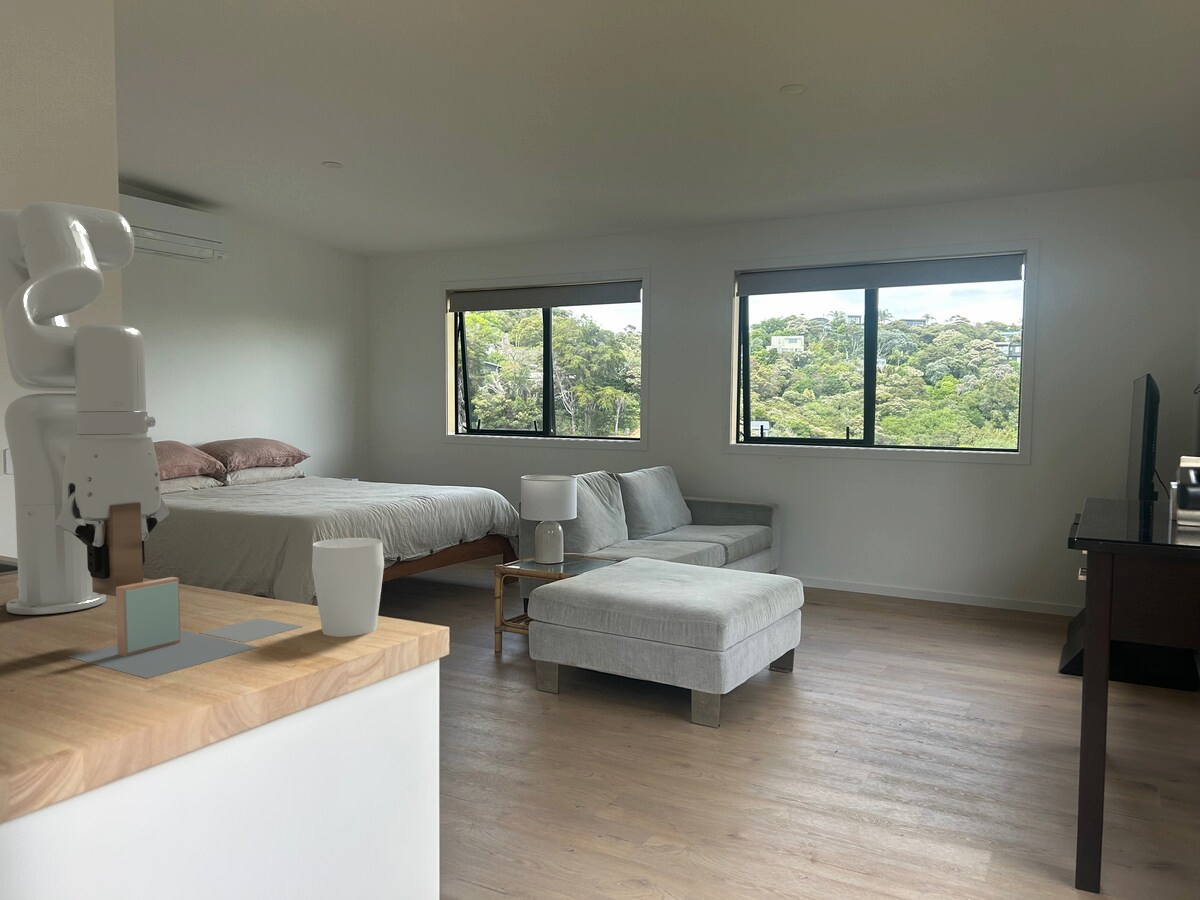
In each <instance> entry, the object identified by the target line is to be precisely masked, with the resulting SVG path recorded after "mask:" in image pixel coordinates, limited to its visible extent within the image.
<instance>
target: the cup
mask: <svg viewBox="0 0 1200 900" xmlns="http://www.w3.org/2000/svg"><path fill="white" fill-rule="evenodd" d="M383 545H384V544H383V540H382V539H380V538H374V537H339V538H338V537H337V538H330V539H324V540H319V541H316V542H313V543H312V554H311V555H312V557H311V571H312V578H313V584H314V590H315V596H316V602H317V607H318V615H319V619H320V625H321V631H322V633H323V635H325V636H330V637H338V638H339V637H340V638H343V637H345V638H346V637H357V636H361V635H363V636H364V635H367V634H370V633H372V632H374V631H377V625H378V617H379V609H380V602H381V594H382V593H381V592H382V588H383V587H382V584H383V575H384V569H385V558H384V547H383Z"/></svg>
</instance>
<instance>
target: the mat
mask: <svg viewBox="0 0 1200 900" xmlns="http://www.w3.org/2000/svg"><path fill="white" fill-rule="evenodd" d="M180 637H181V642H180V643H176V644H172V645H168V646H164V647H160V648H156V649H152V650H148V651H144V652H140V653H136V654H132V655H128V656H122V655H118V644H115V645H110V646H107V647H105V646H104V647H103V648H102V647H101V648H97V649H93V650H89V651H85V652H82V653H81V652H80V653H76V654H73V655H68V656H67V658H70V659H73V660H78V661H81V662H84V663H89V664H91V665H96V666H97V667H98V666H99V667H103V668H106V669H110V670H113V671H118V672H122V673H124V674H128V675H132V676H135V677H138V678H142V679H146V680H148V679H151V678H155V677H158V676H159V677H160V676H162V675H167V674H170V673H174V672H176V671H180V670H185V669H187V668H191V667H194V666H198V665H201V664H205V663H209V662H213V661H216V660H217V661H218V660H221V659H223V658H227V657H230V656H234V655H238V654H241V653H245V652H247V651H252V650H255V649H258V648H259V649H260V647H259V646H255V645H251V644H246V643H243V642H238V641H234V640H229V639H224V638H220V637H215V636H211V635H206V634H201V633H194V632H192V631H191V632H189V631H186V630H181V629H180Z"/></svg>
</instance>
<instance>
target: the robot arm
mask: <svg viewBox="0 0 1200 900" xmlns="http://www.w3.org/2000/svg"><path fill="white" fill-rule="evenodd" d="M134 253H135V236H134V232H133V230H132V227H131V225H130V223H129V221H128V220H127V219H126V218H125V217H124V216H123V215H122V214H121V213H119V212H117V211H115V210H112V209H107V208H100V207H94V206H86V205H78V204H71V203H65V202H58V201H39V202H38V201H37V202H34V203H30V204H29V205H27V206H25V207H23V208H22V209H14V208H13V209H12V208H7V209H6V208H1V209H0V313H1V319H2V321H1V322H2V327H3V335H4V342H5V350H6V356H7V362H8V367H9V371H10V375H11V376H12V379H13V381H14V382H15V383H16V384H17V385H18V386H19V387H21V388H23V389H25V390H30V391H37V392H39V391H41V392H42V391H43V392H44V393H33V394H27V395H24V396H21V397H18V398H16V399H14V400H13V401H12V402H10V404H8V406H7V408H6V410H5V412H4V428H5V429H4V430H5V434H6V438H7V444H8V448H9V452H10V458H11V464H12V472H13V482H14V501H15V502H14V503H15V505H14V506H15V526H16V528H15V531H16V552H17V553H16V556H17V558H16V559H17V576H18V577H17V580H16V581H15V586H16V587H18V597H15V598H13V599H10V600H9V601H7V602H6V606H5V607H6V612H8V613H10V614H15V615H24V616H25V615H29V616H31V615H32V616H33V615H36V616H37V615H38V616H39V615H49V614H50V615H51V614H61V613H69V612H74V611H81V610H86V609H89V608H94V607H96V606H99V605H101V604H104V603H105V602H106V600H107V595H105V594H100V593H94V592H93V590H92V577H94V578H100V579H107V578H108V577H109V548H108V546H105V545H104V538H105V529H106V520H108V519H109V518H110V508H111V506H112V505H122V504H132V503H141V531H142V563H143V565H144V564H145V562H146V561H145V560H146V559H145V557H146V556H145V541H146V540H148V539H149V535H150V533H151V532H152V531H153V530H154V528H155V527H156V526H157V525H158V523H160V522H161V521H163V520H164V519H165V518H166V517H168V516H169V515H170V509H169V508H168V506H167V505H166V503H165V501H164V500H163V499H162V496H161V495H162V493H161V479H160V470H159V464H158V458H157V453H156V448H155V445H154V442H153V439H152V436H148V432H149V428H154V427H155V426H156V418H155V417H154V416H148V412H147V397H146V367H145V366H146V364H145V363H146V359H145V341H144V340H145V338H144V336H143V333H142V332H141V331H140V330H139V329H138V328H137V327H133V326H129V325H123V324H121V325H120V324H107V323H106V324H105V323H104V324H102V323H101V324H98V323H96V324H86V325H85V324H84V325H82V326H71V325H70V323H69V317H68V314H70V313H74V312H76V311H80V310H83V309H85V308H87V307H89V306H91V305H93V304H94V303H95V302H96V301H98V299H99V298H100V296H101V295H102V293H103V291H104V290H105V289H104V288H105V280H104V276H103V274H106V273H112V272H116V271H120V270H122V269H125V268H126V267H127V266H128V265H130V263H131V261H132V259H133V257H134ZM45 392H46V393H45ZM47 392H51V393H47ZM52 392H57V393H52ZM59 392H75V393H59Z"/></svg>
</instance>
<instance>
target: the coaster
mask: <svg viewBox="0 0 1200 900" xmlns="http://www.w3.org/2000/svg"><path fill="white" fill-rule="evenodd" d="M303 627H304V626H302V625H298V624H291V623H287V622H283V621H276V620H273V619H266V618H262V617H258V618H253V619H249V620H246V621H241V622H237V623H234V624H229V625H224V626H221V627H216V628H213V629H208V630H205V631H200V632H199V634H200V635H205V636H210V637H214V638H219V639H224V640H228V641H233V642H238V643H242V644H246V643H249V642H251V641H255V640H259V639H264V638H266V637H270V636H274V635H278V634H282V633H285V632H289V631H293V630H296V629H301V628H303Z"/></svg>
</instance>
